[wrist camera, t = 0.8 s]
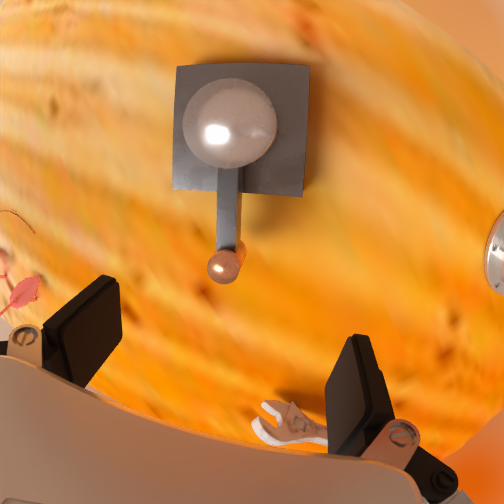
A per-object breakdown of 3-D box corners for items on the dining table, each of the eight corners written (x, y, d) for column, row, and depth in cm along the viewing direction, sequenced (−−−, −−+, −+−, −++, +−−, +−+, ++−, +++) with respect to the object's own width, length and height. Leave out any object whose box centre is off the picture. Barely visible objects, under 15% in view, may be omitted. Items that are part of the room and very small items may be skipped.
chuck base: (308, 73, 24) (310, 65, 21) (301, 191, 28) (302, 197, 26) (187, 72, 25) (176, 66, 22) (183, 184, 30) (172, 189, 27)
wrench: (379, 435, 45) (252, 391, 38) (386, 430, 44) (259, 385, 38) (387, 468, 37) (250, 439, 31) (395, 464, 37) (258, 433, 30)
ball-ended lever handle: (199, 88, 23) (183, 79, 19) (279, 88, 22) (277, 77, 18) (197, 260, 29) (182, 279, 25) (268, 266, 28) (264, 288, 24)
